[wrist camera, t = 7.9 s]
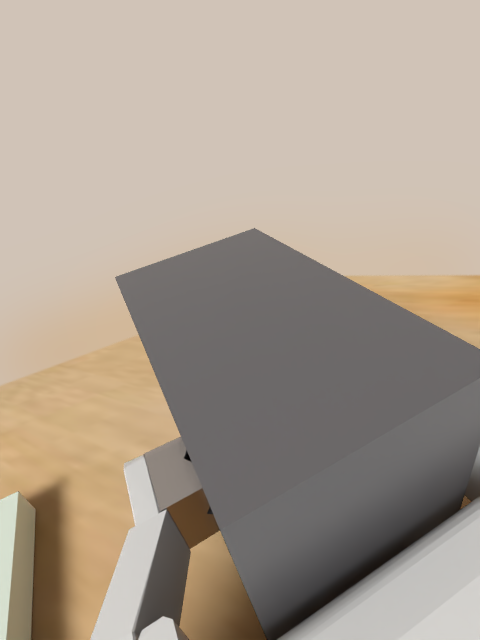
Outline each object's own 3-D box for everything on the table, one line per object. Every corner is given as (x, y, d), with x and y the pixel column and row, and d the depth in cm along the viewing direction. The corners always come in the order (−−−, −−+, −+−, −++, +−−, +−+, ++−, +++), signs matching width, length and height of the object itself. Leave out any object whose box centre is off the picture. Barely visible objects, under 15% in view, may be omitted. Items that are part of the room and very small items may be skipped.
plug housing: (290, 447, 16) (254, 228, 10) (422, 628, 10) (505, 362, 5) (206, 493, 15) (114, 277, 9) (303, 723, 9) (220, 529, 3)
